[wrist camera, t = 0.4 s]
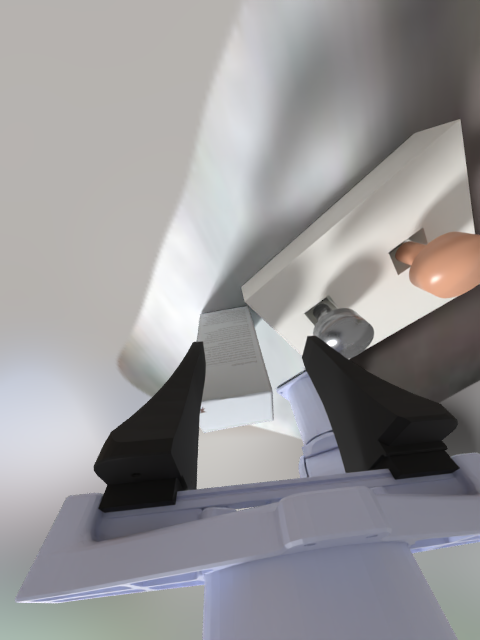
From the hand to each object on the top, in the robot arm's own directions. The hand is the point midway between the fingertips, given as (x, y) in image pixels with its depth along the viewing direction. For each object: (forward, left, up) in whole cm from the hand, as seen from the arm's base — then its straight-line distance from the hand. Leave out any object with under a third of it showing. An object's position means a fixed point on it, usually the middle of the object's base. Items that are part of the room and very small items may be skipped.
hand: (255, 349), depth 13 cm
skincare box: (-2, +4, -10) cm, 11 cm away
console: (-8, -10, -10) cm, 16 cm away
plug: (-7, -5, -7) cm, 11 cm away
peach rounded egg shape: (-7, -14, -7) cm, 17 cm away
